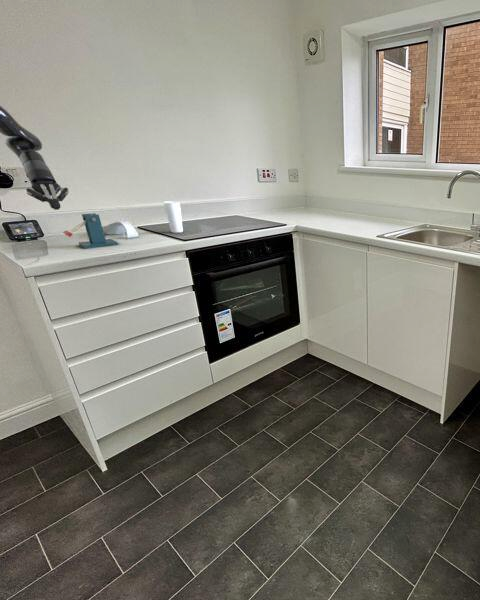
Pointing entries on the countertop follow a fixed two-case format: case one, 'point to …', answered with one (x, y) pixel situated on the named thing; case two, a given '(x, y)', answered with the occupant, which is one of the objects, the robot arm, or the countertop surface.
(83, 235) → the countertop surface
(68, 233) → the switch lever
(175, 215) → the drinking glass
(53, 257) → the countertop surface
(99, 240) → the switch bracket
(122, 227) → the white rounded block
